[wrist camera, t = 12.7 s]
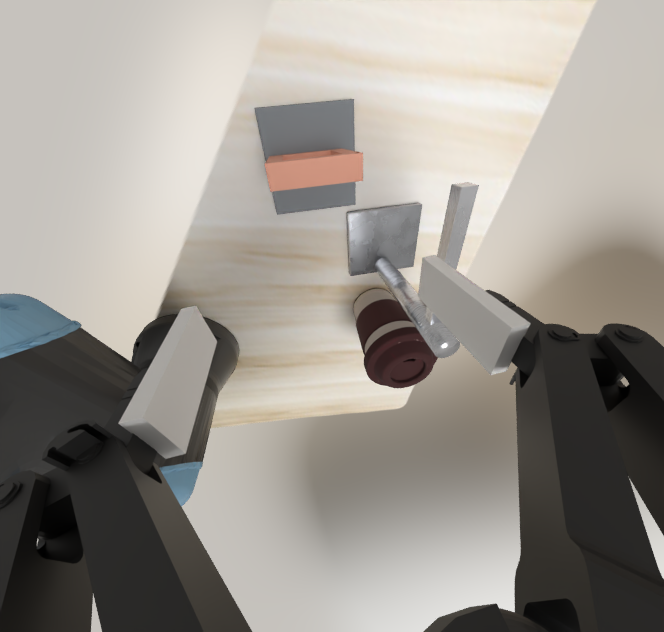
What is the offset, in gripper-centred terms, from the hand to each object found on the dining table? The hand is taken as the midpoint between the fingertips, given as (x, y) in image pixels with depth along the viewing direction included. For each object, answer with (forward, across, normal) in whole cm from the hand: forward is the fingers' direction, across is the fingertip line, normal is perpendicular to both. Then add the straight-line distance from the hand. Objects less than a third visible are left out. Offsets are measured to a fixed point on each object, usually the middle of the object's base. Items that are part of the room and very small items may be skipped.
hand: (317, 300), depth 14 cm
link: (+20, +3, +5) cm, 21 cm away
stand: (+21, +12, -3) cm, 24 cm away
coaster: (+21, +3, +5) cm, 22 cm away
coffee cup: (+21, +10, -17) cm, 29 cm away
